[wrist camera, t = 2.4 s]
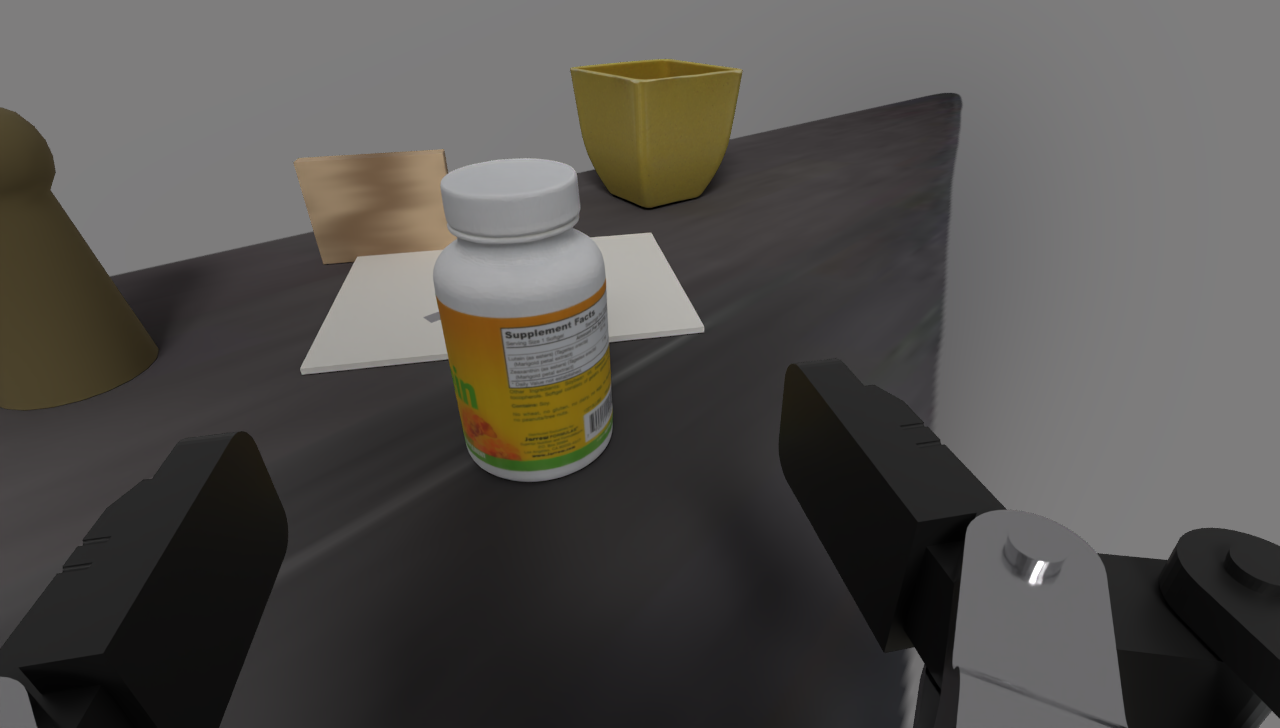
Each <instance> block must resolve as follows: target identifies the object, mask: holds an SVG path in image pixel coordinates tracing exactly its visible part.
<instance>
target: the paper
mask: <svg viewBox="0 0 1280 728" xmlns="http://www.w3.org/2000/svg"><path fill="white" fill-rule="evenodd" d="M591 239H592V240H593V241H594V242H595V243H596V245H597V246H598V247H599V249H600V251H601V253H602V256H603V260H604V265H605V273H606V291H607V313H608V333H609V342H617V341H626V340H636V339H645V338H655V337H664V336H674V335H683V334H693V333H702V332H704V325H703V324H702V322H701V320H700V318H699V316H698V315H697V313H696V311H695V309H694V308H693V306H692V304H691V302H690V301H689V299H688V297H687V295H686V293H685V292H684V290H683V288H682V286H681V285H680V283H679V281H678V279H677V278H676V276H675V274H674V272H673V270H672V269H671V267H670V265H669V263H668V262H667V260H666V258H665V256H664V255H663V253H662V251H661V249H660V248H659V246H658V244H657V242H656V240H655V239H654V237H653V235H652V233H641V234H629V235H616V236H604V237H592V238H591ZM442 251H443V250H433V251H421V252H409V253H396V254H384V255H372V256H360V257H357V258H356V260H355V262H354V264H353V266H352V268H351V270H350V272H349V274H348V276H347V278H346V280H345V281H344V283H343V285H342V287H341V289H340V291H339V293H338V295H337V297H336V299H335V301H334V303H333V305H332V307H331V309H330V311H329V313H328V315H327V317H326V319H325V321H324V323H323V325H322V326H321V328H320V330H319V332H318V334H317V336H316V338H315V340H314V342H313V344H312V346H311V348H310V350H309V352H308V354H307V356H306V358H305V360H304V362H303V364H302V366H301V368H300V371H301V373H302V375H304V374H313V373H323V372H332V371H342V370H351V369H361V368H370V367H380V366H389V365H399V364H408V363H418V362H427V361H436V360H446V359H448V354H447V349H446V344H445V339H444V334H443V329H442V324H441V319H440V314H439V309H438V305H437V300H436V295H435V287H434V282H433V269H434V266H435V262H436V260H437V258H438V256H439V255H440V253H441V252H442Z"/></svg>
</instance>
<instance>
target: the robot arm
mask: <svg viewBox="0 0 1280 728" xmlns="http://www.w3.org/2000/svg"><path fill="white" fill-rule="evenodd" d="M779 456H780V462H781V466H782V470H783V473H784V476H785V478H786V480H787V482H788V484H789V486H790V487H791V489H792V491H793V493H794V494H795V496H796V498H797V500H798V502H799V503H800V505H801V507H802V509H803V510H804V512H805V514H806V516H807V517H808V519H809V521H810V523H811V525H812V526H813V528H814V530H815V532H816V533H817V535H818V537H819V539H820V540H821V542H822V544H823V546H824V547H825V549H826V551H827V553H828V555H829V556H830V558H831V560H832V562H833V563H834V565H835V567H836V569H837V570H838V572H839V574H840V576H841V577H842V579H843V581H844V583H845V585H846V586H847V588H848V590H849V592H850V593H851V595H852V597H853V599H854V600H855V602H856V604H857V606H858V608H859V609H860V611H861V613H862V615H863V616H864V618H865V620H866V622H867V623H868V625H869V627H870V629H871V630H872V632H873V634H874V636H875V638H876V639H877V641H878V643H879V645H880V646H881V648H882V650H883V652H884V653H887V652H892V651H897V650H902V649H907V648H912V647H915V649H916V650H917V652H918V654H919V655H920V657H921V658H922V660H923V662H924V663H925V664H924V668H923V671H922V674H921V678H920V684H919V691H918V698H917V705H916V711H915V718H914V725H913V728H1258V727H1259V726H1260V725H1261V724H1262V722H1263V721H1264V720H1265V718H1266V717H1267V716H1268V715H1269V714H1270V712H1271V711H1273V712H1274V713H1275V714H1276V715H1277V716H1278V717H1279V718H1280V546H1278V545H1276V544H1274V543H1271V542H1269V541H1267V540H1264V539H1261V538H1259V537H1256V536H1252V535H1249V534H1246V533H1241V532H1238V531H1233V530H1228V529H1220V528H1201V529H1196V530H1192V531H1189V532H1187V533H1185V534H1184V535H1183V536H1182V537H1181V538H1180V539H1179V541H1178V543H1177V545H1176V547H1175V548H1174V550H1173V552H1172V554H1171V555H1170V557H1169V559H1168V560H1161V559H1150V558H1140V557H1129V556H1119V555H1109V554H1099V553H1096V552H1095V550H1094V549H1093V548H1092V547H1091V546H1090V545H1089V544H1088V543H1087V542H1086V541H1085V540H1083V539H1082V538H1081V537H1080V536H1078V535H1077V534H1076V533H1074V532H1073V531H1071V530H1070V529H1068V528H1066V527H1065V526H1063V525H1061V524H1059V523H1057V522H1055V521H1053V520H1050V519H1048V518H1045V517H1043V516H1039V515H1036V514H1033V513H1028V512H1024V511H1017V510H1007V509H1006V508H1005V507H1004V506H1003V505H1002V504H1001V503H1000V502H999V501H998V500H997V499H996V498H995V497H994V496H993V495H992V494H991V492H990V491H988V489H986V487H985V486H984V485H983V484H982V483H981V482H980V481H979V480H978V479H977V478H976V477H975V476H974V475H973V474H972V473H971V472H970V471H969V469H967V467H966V466H965V465H964V464H963V463H962V462H961V461H960V460H959V459H958V458H957V457H956V456H955V455H954V454H953V453H952V452H951V451H950V449H949V448H948V447H947V446H946V445H941V443H940V439H939V438H938V437H937V436H936V435H935V434H934V433H933V432H932V431H931V430H930V428H929V427H924V422H923V421H922V420H921V419H920V418H919V417H918V416H917V415H916V414H915V413H914V412H913V411H912V410H911V409H910V407H909V406H908V405H907V404H906V403H905V402H904V401H902V400H900V399H899V398H897V397H895V396H893V395H892V394H890V393H888V392H886V391H884V390H883V389H881V388H879V387H877V386H875V385H868V386H864V385H863V384H862V383H861V382H860V381H859V380H858V378H857V377H856V376H855V375H854V374H853V373H852V372H851V371H850V369H849V368H848V367H847V366H846V365H845V364H844V363H843V362H842V361H841V360H839V359H836V358H835V359H827V360H819V361H811V362H803V363H795V364H791V365H789V367H788V369H787V371H786V375H785V383H784V393H783V403H782V414H781V424H780V434H779ZM287 543H288V524H287V518H286V514H285V511H284V508H283V506H282V504H281V501H280V499H279V497H278V494H277V492H276V490H275V487H274V485H273V483H272V480H271V478H270V476H269V473H268V471H267V469H266V466H265V464H264V462H263V459H262V457H261V455H260V452H259V450H258V447H257V445H256V443H255V441H254V440H253V438H252V437H251V436H250V435H249V434H248V433H246V432H243V431H241V432H232V433H224V434H216V435H208V436H200V437H192V438H185V439H182V440H181V441H179V442H178V443H177V445H176V446H175V447H174V449H173V450H172V451H171V453H170V454H169V456H168V457H167V458H166V460H165V461H164V463H163V464H162V465H161V467H160V468H159V470H158V471H157V472H156V474H155V475H154V477H153V478H152V479H146V480H142V481H141V482H140V483H138V484H137V485H136V486H135V487H133V488H132V489H131V490H130V491H128V492H127V493H126V494H124V495H123V496H122V497H121V498H119V499H118V500H117V501H115V502H114V503H113V504H112V505H110V506H109V507H108V508H106V510H105V511H104V512H103V514H102V515H101V516H100V518H99V519H98V520H97V522H96V523H95V524H94V526H93V527H92V528H91V530H90V531H89V532H88V534H87V535H86V536H85V537H84V539H83V546H78V547H77V548H76V549H75V551H74V552H73V553H72V555H71V556H70V557H69V559H68V560H67V561H66V563H65V564H64V565H63V572H62V573H59V574H57V575H56V576H55V577H54V578H53V580H52V581H51V582H50V584H49V585H48V586H47V588H46V589H45V590H44V592H43V593H42V594H41V596H40V597H39V598H38V600H37V601H36V602H35V604H34V605H33V606H32V608H31V609H30V610H29V612H28V613H27V614H26V615H25V617H24V618H23V619H22V621H21V622H20V623H19V625H18V626H17V627H16V629H15V630H14V631H13V633H12V634H11V635H10V637H9V638H8V639H7V641H6V642H5V643H4V645H3V646H2V647H1V649H0V728H219V726H220V723H221V721H222V718H223V716H224V713H225V710H226V708H227V705H228V703H229V700H230V697H231V695H232V692H233V690H234V687H235V684H236V682H237V679H238V676H239V674H240V671H241V669H242V666H243V663H244V661H245V658H246V656H247V653H248V650H249V648H250V645H251V643H252V640H253V637H254V635H255V632H256V629H257V627H258V624H259V622H260V619H261V616H262V614H263V611H264V609H265V606H266V603H267V601H268V598H269V596H270V593H271V590H272V588H273V585H274V582H275V580H276V577H277V575H278V572H279V569H280V567H281V564H282V562H283V559H284V556H285V553H286V549H287Z"/></svg>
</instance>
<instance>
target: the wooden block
mask: <svg viewBox="0 0 1280 728" xmlns="http://www.w3.org/2000/svg"><path fill="white" fill-rule="evenodd" d="M294 166H295V170H296V172H297V176H298V180H299V183H300V187H301V190H302V193H303V196H304V200H305V203H306V207H307V210H308V214H309V217H310V220H311V224H312V227H313V231H314V234H315V237H316V241H317V244H318V247H319V251H320V254H321V258H322V261H323V264H333V263H345V262H355V260H356V258H357V257H360V256H372V255H384V254H396V253H409V252H421V251H433V250H444V248H446V247H447V246H448V245H449V244H450V243H452V242H453V241H454V240H456V239H457V237H456V236H454V235H453V234H451V233H450V232H449V230H448V228H447V221H446V218H445V213H444V207H443V201H442V194H441V187H440V184H441V180H442V178H443V177H444V176H445V175H447V174H448V169H447V163H446V157H445V152H444V149H441V150H425V151H410V152H394V153H393V152H391V153H375V154H360V155H359V154H358V155H344V156H343V155H342V156H325V157H308V158H298V159H297V160H296V161H295V162H294Z"/></svg>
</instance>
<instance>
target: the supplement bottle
mask: <svg viewBox="0 0 1280 728" xmlns="http://www.w3.org/2000/svg"><path fill="white" fill-rule="evenodd" d="M440 187H441V194H442V201H443V207H444V213H445V218H446V221H447V228H448V230H449V232H450V233H451V234H453V235H454V236H456V237H457V239H456V240H454V241H453V242H452V243H450V244H449V245H448V246H447V247H446V248H444V250H443V251H442V252H441V253H440V255H439V256H438V258H437V260H436V262H435V266H434V269H433V282H434V287H435V295H436V300H437V305H438V309H439V314H440V319H441V324H442V329H443V334H444V339H445V344H446V349H447V354H448V359H449V364H450V369H451V374H452V378H453V383H454V388H455V393H456V398H457V403H458V408H459V413H460V418H461V423H462V428H463V433H464V437H465V442H466V445H467V449H468V452H469V454H470V455H471V457H472V458H473V460H474V461H475V462H476V463H477V464H478V465H479V466H480V467H481V468H483V469H484V470H485V471H487V472H489V473H491V474H493V475H495V476H498V477H501V478H504V479H508V480H513V481H521V482H539V481H546V480H552V479H556V478H560V477H563V476H566V475H569V474H571V473H574V472H576V471H578V470H580V469H582V468H584V467H585V466H587V465H588V464H590V463H591V462H592V461H594V460H595V459H596V458H597V457H598V456H599V455H600V454H601V453H602V452H603V451H604V449H605V448H606V447H607V445H608V443H609V441H610V438H611V435H612V428H613V407H612V388H611V369H610V351H609V333H608V313H607V291H606V273H605V265H604V260H603V256H602V253H601V251H600V249H599V247H598V246H597V245H596V243H595V242H594V241H593V240H592V239H591V238H590V237H588V236H587V235H585V234H584V233H582V232H580V231H578V230H576V229H574V228H573V226H574V225H575V224H576V223H577V222H578V220H579V212H580V200H579V191H578V180H577V174H576V172H575V170H574V169H573V168H572V167H571V166H569V165H567V164H564V163H561V162H556V161H551V160H545V159H532V158H526V159H525V158H522V159H504V160H493V161H487V162H482V163H477V164H472V165H468V166H465V167H461V168H459V169H456V170H454V171H452V172H450V173H448V174H447V175H445V176H444V177H443V178H442V180H441V184H440Z"/></svg>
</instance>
